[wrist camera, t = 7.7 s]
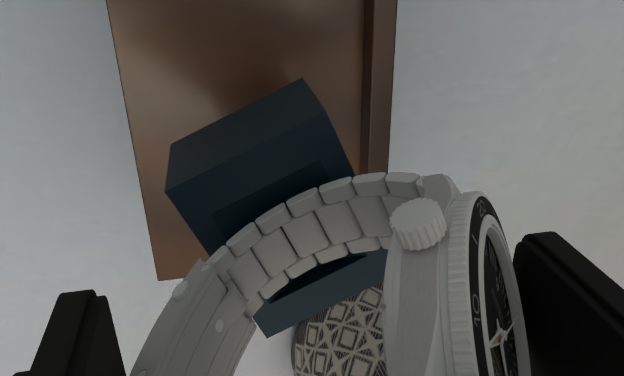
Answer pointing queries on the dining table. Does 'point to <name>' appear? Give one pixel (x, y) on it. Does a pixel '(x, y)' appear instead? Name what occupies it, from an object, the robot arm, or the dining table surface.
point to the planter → (342, 339)
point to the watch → (329, 250)
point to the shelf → (245, 83)
